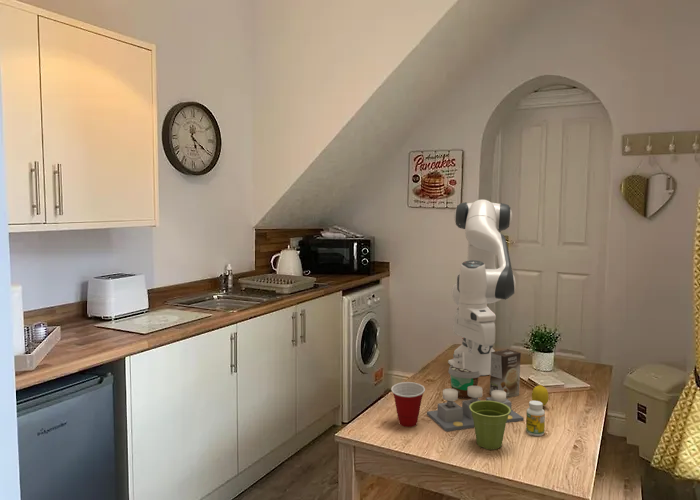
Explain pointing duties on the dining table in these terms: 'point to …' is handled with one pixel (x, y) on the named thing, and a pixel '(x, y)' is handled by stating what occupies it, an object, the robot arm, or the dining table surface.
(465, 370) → the food container
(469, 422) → the button board
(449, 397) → the button
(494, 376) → the coffee box
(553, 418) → the dining table surface
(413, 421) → the plastic cup
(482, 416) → the plant pot
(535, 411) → the supplement bottle
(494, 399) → the button
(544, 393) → the lemon
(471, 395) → the button
